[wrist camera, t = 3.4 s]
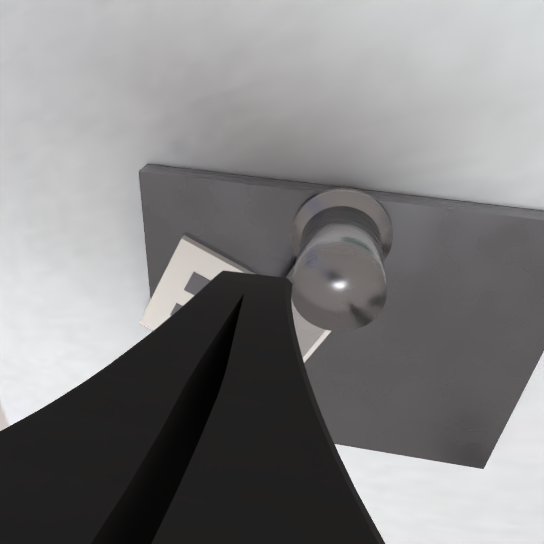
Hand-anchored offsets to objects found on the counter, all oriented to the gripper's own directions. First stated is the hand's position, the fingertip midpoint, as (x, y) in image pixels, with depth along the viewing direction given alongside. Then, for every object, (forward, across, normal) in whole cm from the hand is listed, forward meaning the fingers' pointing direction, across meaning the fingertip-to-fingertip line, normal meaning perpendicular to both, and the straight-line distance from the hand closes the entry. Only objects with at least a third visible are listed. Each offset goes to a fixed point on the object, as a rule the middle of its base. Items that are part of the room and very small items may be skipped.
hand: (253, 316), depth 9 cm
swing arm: (+8, 0, +6) cm, 10 cm away
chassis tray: (+9, -2, +7) cm, 12 cm away
